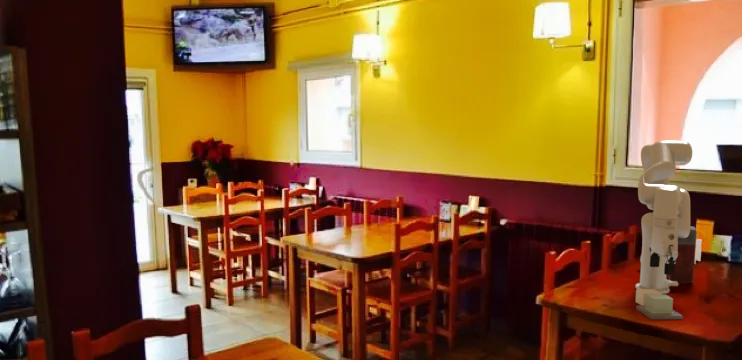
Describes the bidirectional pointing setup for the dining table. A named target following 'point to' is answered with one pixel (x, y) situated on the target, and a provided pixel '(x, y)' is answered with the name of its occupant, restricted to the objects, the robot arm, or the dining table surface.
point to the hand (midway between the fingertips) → (661, 270)
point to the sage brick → (659, 303)
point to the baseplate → (659, 314)
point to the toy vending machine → (685, 258)
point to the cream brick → (642, 295)
